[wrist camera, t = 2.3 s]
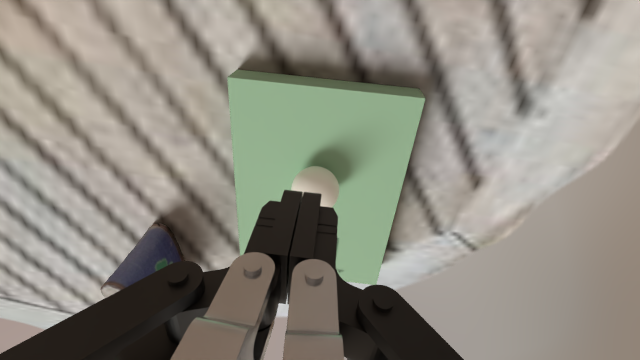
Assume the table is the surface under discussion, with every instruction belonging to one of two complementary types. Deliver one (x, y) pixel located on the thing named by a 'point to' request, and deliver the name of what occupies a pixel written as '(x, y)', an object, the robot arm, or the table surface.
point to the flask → (145, 259)
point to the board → (324, 153)
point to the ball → (318, 184)
